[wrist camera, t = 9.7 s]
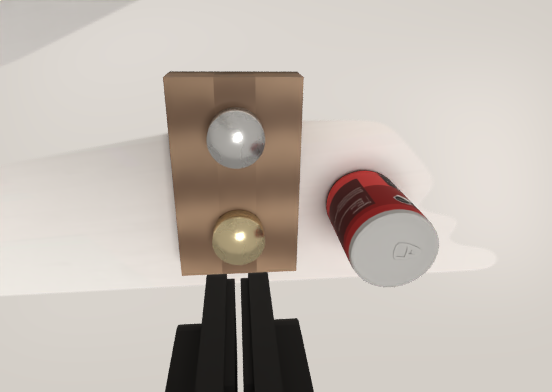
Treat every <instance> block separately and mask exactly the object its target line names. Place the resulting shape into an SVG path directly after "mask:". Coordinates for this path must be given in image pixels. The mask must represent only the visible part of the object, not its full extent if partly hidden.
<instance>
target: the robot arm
mask: <svg viewBox="0 0 552 392" xmlns="http://www.w3.org/2000/svg"><path fill="white" fill-rule="evenodd" d="M241 307H242V340H243V341H242V346H243V382H244V392H314V391H313V386H312V381H311V376H310V372H309V367H308V362H307V358H306V353H305V349H304V344H303V339H302V335H301V330H300V325H299V321H298V319H297V318H295V319H276V320H274V317H273V310H272V302H271V296H270V287H269V279H268V273H267V272H256V273H248V278H241ZM237 390H238V388H237V338H236V309H235V279H227V274H210V275H207V278H206V288H205V297H204V307H203V318H202V324H184V325H178V327H177V330H176V335H175V341H174V346H173V351H172V357H171V362H170V368H169V373H168V379H167V385H166V390H165V392H238V391H237Z"/></svg>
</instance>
